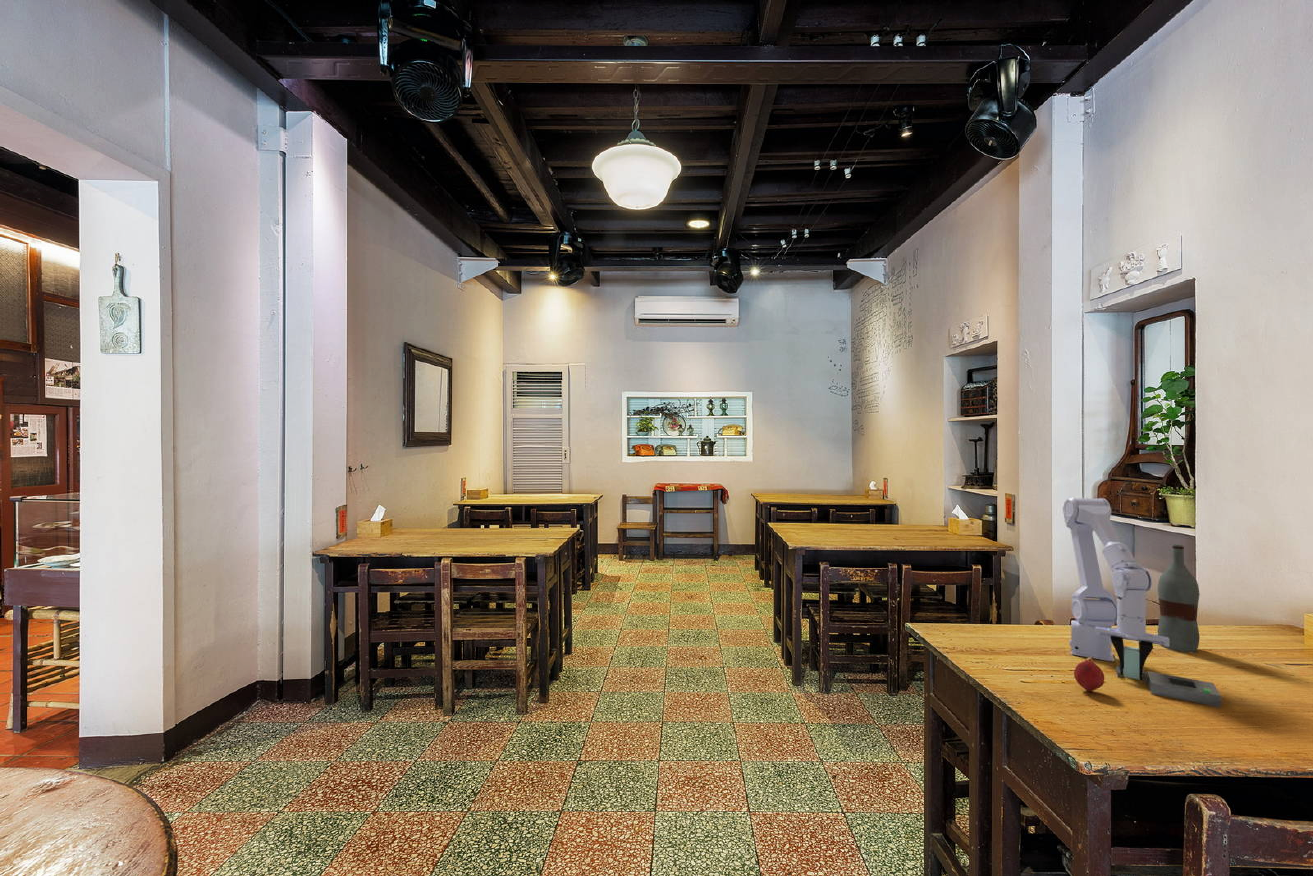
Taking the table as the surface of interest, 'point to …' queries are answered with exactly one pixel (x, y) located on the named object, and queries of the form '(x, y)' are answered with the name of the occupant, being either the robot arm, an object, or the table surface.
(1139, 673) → the holster
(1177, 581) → the bottle
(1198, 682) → the port panel
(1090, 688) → the onion
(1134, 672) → the plug
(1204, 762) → the table surface
